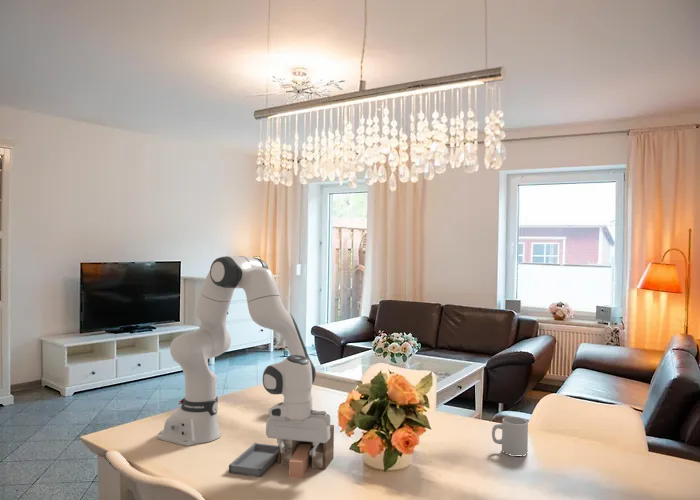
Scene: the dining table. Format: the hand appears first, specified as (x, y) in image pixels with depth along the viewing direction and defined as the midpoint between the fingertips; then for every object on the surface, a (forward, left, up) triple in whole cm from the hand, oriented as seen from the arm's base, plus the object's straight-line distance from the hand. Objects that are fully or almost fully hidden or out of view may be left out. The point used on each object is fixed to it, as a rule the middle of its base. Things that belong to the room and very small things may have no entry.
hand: (298, 453), depth 158 cm
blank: (-1, +4, -6) cm, 7 cm away
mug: (+64, +37, -6) cm, 74 cm away
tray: (-15, +3, -6) cm, 17 cm away
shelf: (-1, +10, -6) cm, 11 cm away
